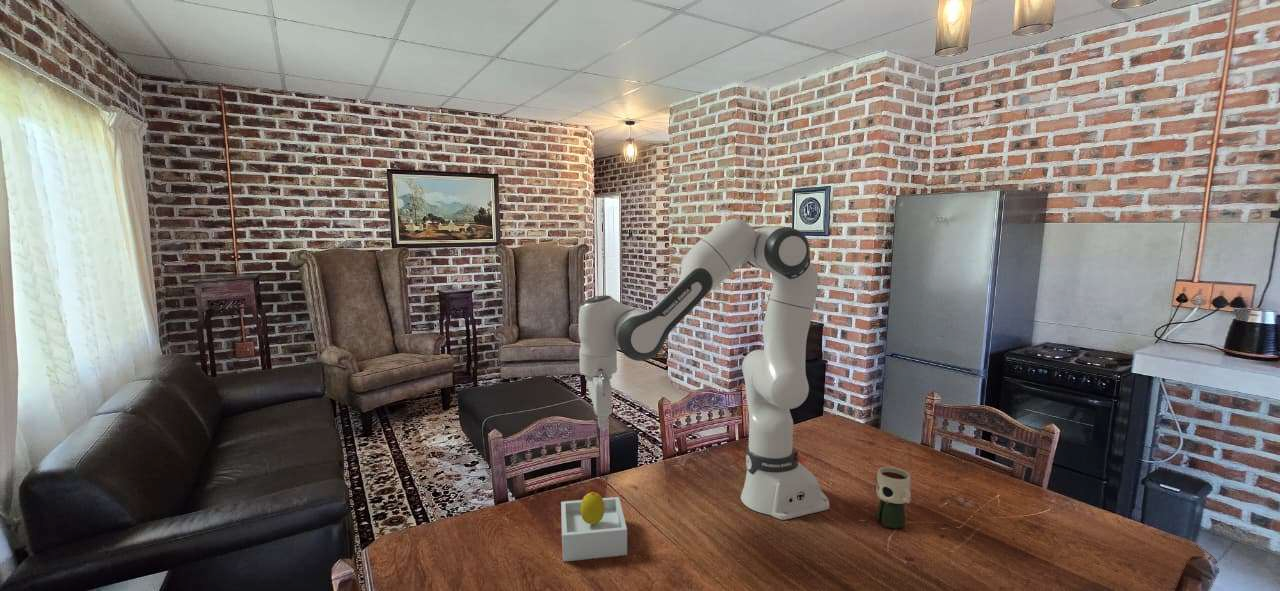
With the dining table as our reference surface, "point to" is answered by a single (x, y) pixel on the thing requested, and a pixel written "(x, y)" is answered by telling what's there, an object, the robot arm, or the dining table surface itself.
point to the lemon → (592, 508)
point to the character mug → (892, 495)
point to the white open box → (593, 532)
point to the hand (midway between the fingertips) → (599, 420)
